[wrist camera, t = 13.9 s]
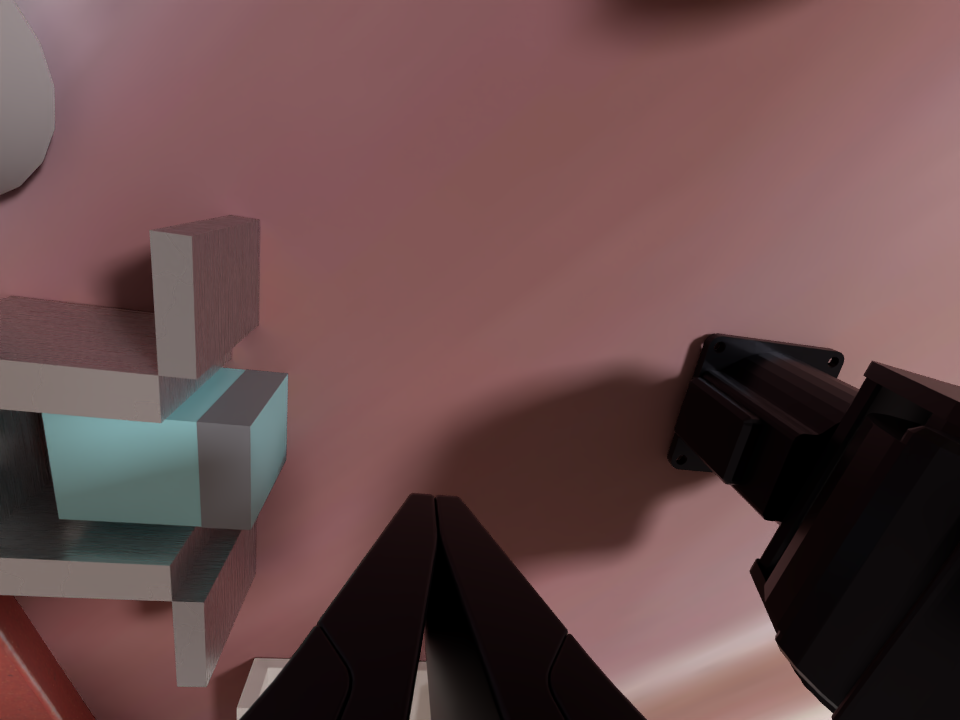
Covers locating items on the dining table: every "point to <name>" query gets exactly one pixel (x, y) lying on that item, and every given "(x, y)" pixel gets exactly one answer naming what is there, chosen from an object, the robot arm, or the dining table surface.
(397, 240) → the dining table surface
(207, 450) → the plug
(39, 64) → the can
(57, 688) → the plant saucer
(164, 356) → the bracket
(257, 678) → the white flat channel piece
